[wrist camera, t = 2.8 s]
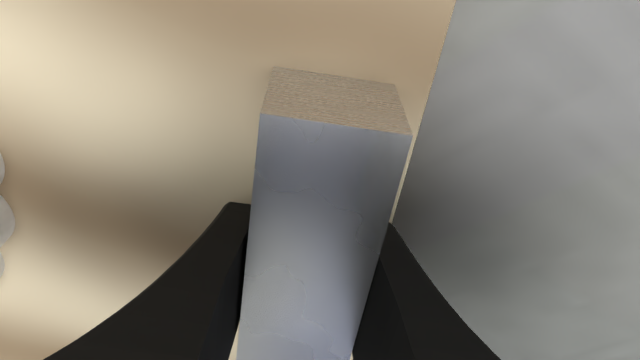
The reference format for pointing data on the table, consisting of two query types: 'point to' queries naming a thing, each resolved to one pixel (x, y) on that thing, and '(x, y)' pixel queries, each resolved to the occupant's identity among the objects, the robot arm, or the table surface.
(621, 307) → the table surface
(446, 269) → the table surface
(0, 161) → the mooncake
